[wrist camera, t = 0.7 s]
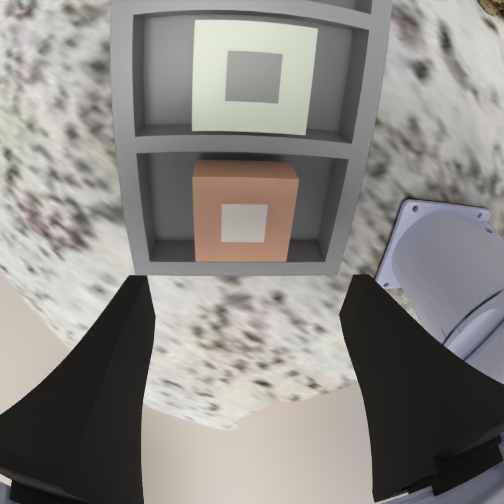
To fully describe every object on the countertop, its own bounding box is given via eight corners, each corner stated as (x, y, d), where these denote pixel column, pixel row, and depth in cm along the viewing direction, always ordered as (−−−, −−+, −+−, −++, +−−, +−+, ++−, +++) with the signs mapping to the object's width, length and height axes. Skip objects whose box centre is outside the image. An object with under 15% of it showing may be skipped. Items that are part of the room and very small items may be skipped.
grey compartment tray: (369, -81, 8) (395, -97, 6) (323, 243, 21) (337, 274, 19) (144, -99, 7) (129, -121, 4) (145, 242, 20) (135, 275, 18)
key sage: (305, 30, 11) (318, 28, 9) (295, 123, 14) (305, 136, 12) (199, 23, 10) (194, 19, 9) (195, 119, 13) (191, 131, 12)
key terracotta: (290, 162, 15) (299, 180, 13) (280, 238, 18) (286, 263, 16) (196, 159, 14) (192, 177, 13) (197, 238, 17) (195, 262, 15)
